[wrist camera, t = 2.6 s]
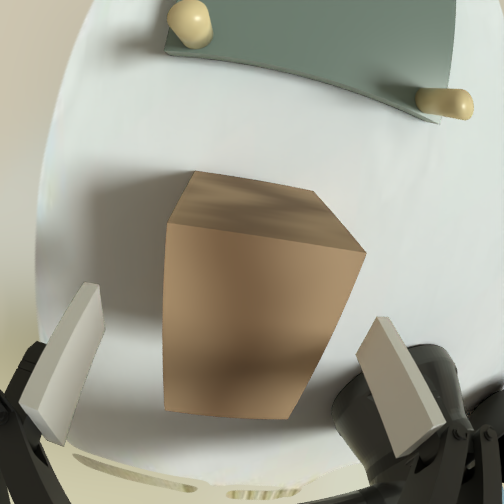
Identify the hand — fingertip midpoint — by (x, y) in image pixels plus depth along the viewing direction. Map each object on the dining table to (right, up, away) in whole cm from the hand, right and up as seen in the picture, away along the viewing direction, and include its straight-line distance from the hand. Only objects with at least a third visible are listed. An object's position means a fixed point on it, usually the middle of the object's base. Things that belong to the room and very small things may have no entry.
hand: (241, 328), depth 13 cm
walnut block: (0, +3, +6) cm, 7 cm away
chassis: (+5, +20, -2) cm, 21 cm away
